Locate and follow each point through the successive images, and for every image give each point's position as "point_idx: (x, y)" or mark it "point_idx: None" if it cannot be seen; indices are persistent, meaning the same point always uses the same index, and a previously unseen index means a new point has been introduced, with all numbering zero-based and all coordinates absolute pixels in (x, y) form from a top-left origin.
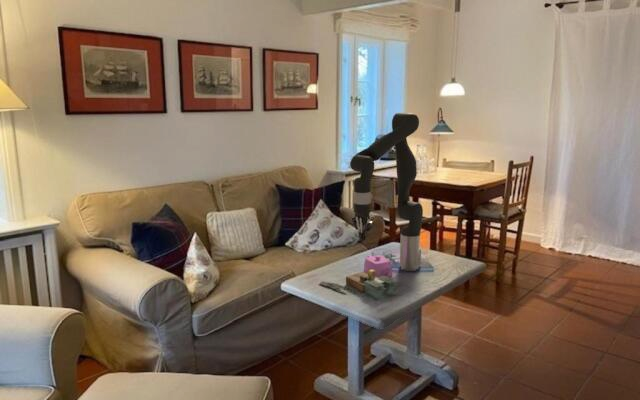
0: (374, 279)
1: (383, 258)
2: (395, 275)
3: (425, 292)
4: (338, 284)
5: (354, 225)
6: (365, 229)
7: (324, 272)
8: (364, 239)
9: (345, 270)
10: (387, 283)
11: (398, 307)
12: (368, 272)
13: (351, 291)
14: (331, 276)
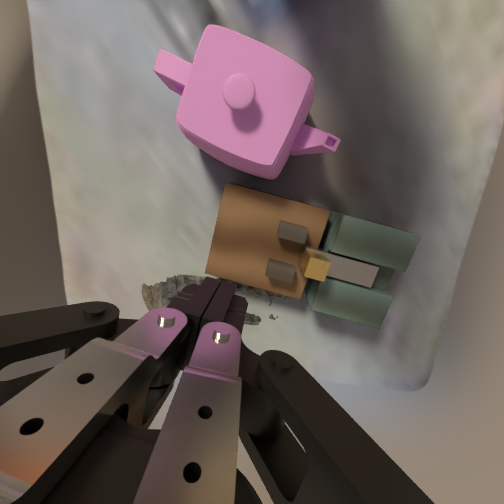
0: (331, 271)
1: (255, 60)
2: (299, 59)
3: (482, 141)
4: (192, 276)
5: (9, 397)
6: (295, 477)
7: (84, 221)
8: (234, 294)
9: (119, 155)
10: (390, 267)
11: (441, 304)
12: (231, 166)
13: (258, 294)
14: (127, 234)
